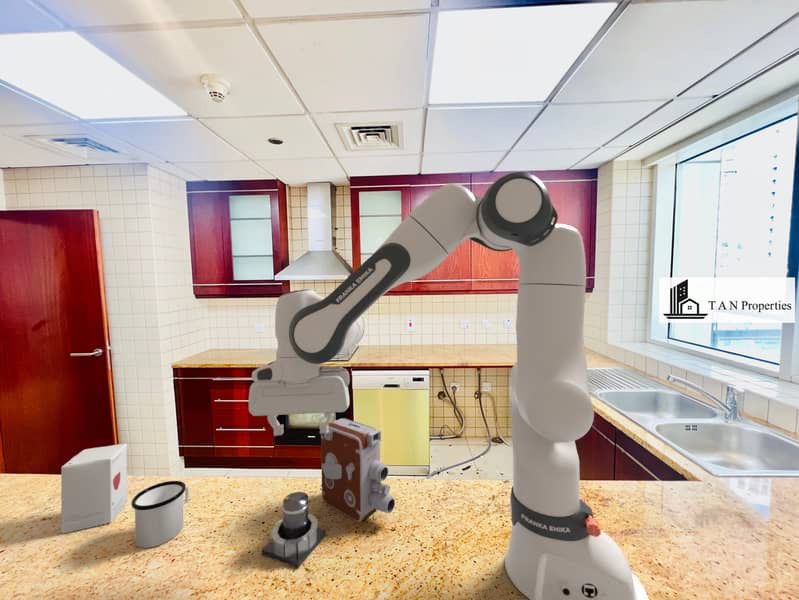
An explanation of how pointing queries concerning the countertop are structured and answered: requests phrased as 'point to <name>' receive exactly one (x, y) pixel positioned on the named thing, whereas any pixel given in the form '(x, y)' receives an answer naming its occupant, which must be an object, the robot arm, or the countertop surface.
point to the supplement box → (93, 487)
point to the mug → (159, 513)
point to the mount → (293, 543)
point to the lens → (295, 515)
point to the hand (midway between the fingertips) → (301, 433)
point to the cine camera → (354, 470)
